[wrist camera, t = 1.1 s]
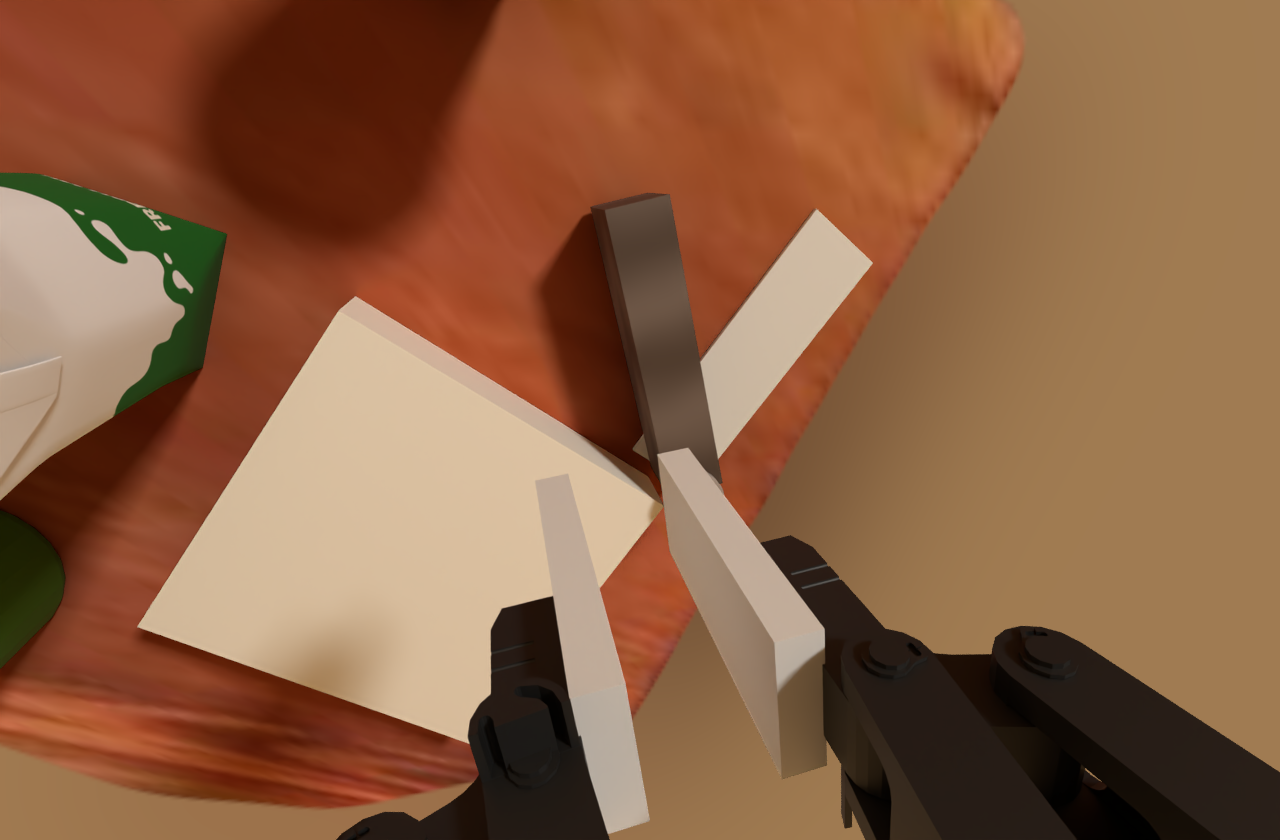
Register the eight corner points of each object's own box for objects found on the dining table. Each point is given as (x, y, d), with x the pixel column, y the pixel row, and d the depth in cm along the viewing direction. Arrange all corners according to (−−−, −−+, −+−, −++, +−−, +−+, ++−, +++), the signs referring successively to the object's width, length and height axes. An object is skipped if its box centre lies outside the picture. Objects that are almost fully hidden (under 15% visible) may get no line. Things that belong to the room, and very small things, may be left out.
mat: (632, 448, 39) (633, 450, 39) (814, 208, 36) (816, 209, 36) (693, 486, 41) (694, 489, 41) (870, 262, 38) (872, 262, 38)
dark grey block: (701, 469, 40) (732, 510, 35) (655, 484, 40) (679, 527, 35) (647, 192, 34) (675, 194, 29) (590, 206, 33) (608, 211, 28)
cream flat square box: (172, 581, 36) (137, 626, 32) (355, 296, 33) (338, 310, 29) (476, 698, 43) (475, 746, 40) (648, 476, 40) (664, 505, 37)
